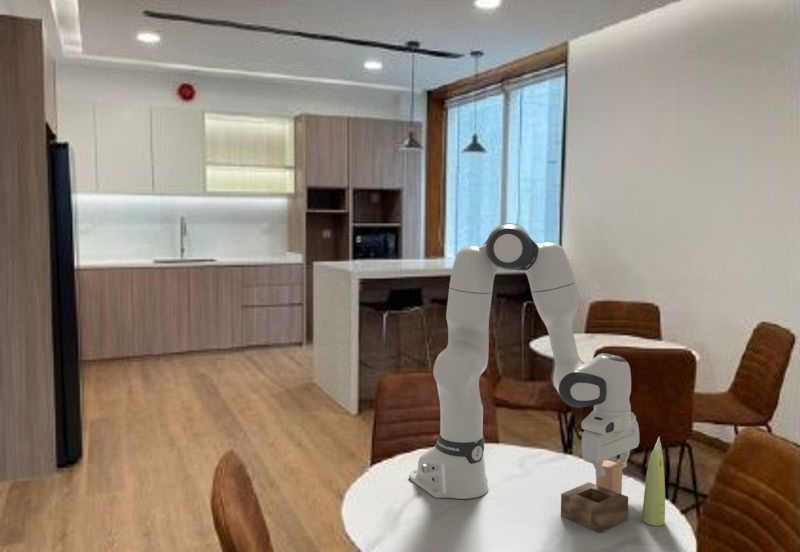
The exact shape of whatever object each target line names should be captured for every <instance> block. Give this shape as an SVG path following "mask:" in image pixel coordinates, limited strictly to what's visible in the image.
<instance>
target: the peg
mask: <svg viewBox="0 0 800 552" xmlns="http://www.w3.org/2000/svg"><path fill="white" fill-rule="evenodd" d="M602 468H603V469H604V470H605V476H604V477H601V478H600V477H597V476H596V475H595V477H596V478H595V485H598V486H601V487H603V488H606V489H609V490H611V491H614V492H617V493H619V494H622V491H623V489H622V487H623V468H622V465H621V464H618V463H617V462H616V461H612V460H609V459H607V460H604V461H603V465H602ZM622 495H623V494H622Z"/></svg>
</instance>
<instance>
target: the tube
mask: <svg viewBox="0 0 800 552" xmlns="http://www.w3.org/2000/svg"><path fill="white" fill-rule="evenodd" d="M662 448H663V447H662V443H661V439H660V437H658V438H657V441H656V443H655V445H654V448H653V450H652V452H651V454H650V458H649V462H648V467H647V471H646V475H645V482H644V483H645V485H644V493H643V504H642V519H641V520H642V521H643V522H644V523H646V524H648V525H651V526H654V527H658V526H659V527H660V526H663V525H664V524H665V523H666V522H665V520H666V486H665V483H666V481H665V480H666V479H665V467H664V465H665V464H664V455H663V450H662Z"/></svg>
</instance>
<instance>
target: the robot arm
mask: <svg viewBox="0 0 800 552" xmlns="http://www.w3.org/2000/svg"><path fill="white" fill-rule="evenodd" d="M500 269H504V270H507V271H514V270H515V271H524V273H525V274H526V276H527V279H528V280H527V281H528V283H529V288H530V293H531V296H532V300H533V302H534V305H535V308H536V310H537V313H538V316H540V318H541V320H542V322H543V323H544V325H545V327H546V329H547V333H548V336H549V341H550V346H551V350H552V355H553V364H552V370H551V377H550V378H551V382H552V385H553V388H554V389H555V390H556V391H557V393H558V394H559V396H560V397H559V398H561V400H562V402H564V403H565V404H566V405H568V406H570V407H573V408H586V407H592V406H593V410H592V411H591V412H590V413H589V414H588V415H587V416H586V417H585V418H584V419H582V421H581V424H580V425H581V429H582V430H584V431H583V433H582V435H581V457H582V459H583V461H584V462H587V463H589V464H592V465H593V467H594V469H595V477H596V476H597V477H600V478H601V477H604V476H605V470H604V469H603V468H602V465H603V461H605V460H609V459H611V458H614V457H616V456H619V459H617V461H616V463H618V464H621V465H622V469H624V468H626V467H627V466H628V465H627V464H628V459H629V456H630V454H631V453H630V452H631V450H634V449H637V448H638V447H639V444H640V428H639V423H638V421H637V416H636V415H635V414H634V412H632V408H631V401H630V396H631V392H632V374H631V366H630V364H629V362H628V361H627V360H626V359H625V358H623V357H622V356H620V355H615V354H612V353H605V352H604V353H603V352H602V353H599V354H597V355H596V356H595V357H594V358H592V359H590V360H588V361H585V362H583V361H582V360H581V358H580V356H579V352H578V347H577V343H576V339H575V335H574V330H573V329H574V328H573V321H574V318H575V316H576V314H577V312H578V310H579V295H578V288H577V284H576V283H577V282H576V280H575V276H574V272H573V269H572V266H571V263H570V260H569V258H568V256H567V254H566V252H565V250H564V248H563V246H562V245H560V244H558V243H555V242H552V241H551V242H548V241H546V242H542V243H538V242H537V243H536V242H535V241H534V240H533V239H532V238H531V236H530V234H529V233H528V232H527V230H526V228H524V227H523V226H521V225H520V224H516V223H512V222H507V223H502V224H499V225H498V226H496V227H495V228H493V230H491V232H490V234H489V235H488V238H487V239H486V240H485V241H484V243H483V244H482V245H480V246H475V245H471V246H467V247H464V248H461V249H459V251H458V252H457V254H456V256H455V259H454V262H453V265H452V269H451V273H450V280H449V288H448V294H447V295H448V297H447V303H446V313H445V314H446V315H445V319H446V322H447V333H448V334H447V335H448V336H447V337H448V339H447V346H446V348H445V349H444V350H442V351H440V353H439V354H438V355H437V357H436V359H435V362H434V365H433V377H434V380H435V382H436V387H437V394H438V397H439V398H438V399H439V407H440V409H439V410H440V420H439V421H440V425H439V426H440V432H439V433H436V434H435V435H434V434H433V435H432V436H433V437H434V438H433V439H432V440H436V442H435V445H434V446H433V447H431V448H430V449H428V450H427V451H425V453H422V454H421V456H420V457H419V459H418V461H417V469H415V470H413V471H411V472H410V473H409V474H408V479H409V478H410V479H411V480H410V479H409V480H410V481H411V482H413V483H415V484H416V485H417V486H418V487H420V488H421V489H422V490H424V491H426V493H428V494H429V495H431V496H432V497H433V498H437V499H438V498H439V499H442V498H443V499H445V498H449V499H460V500H462V499H463V500H465V499H467V500H469V499H474V498H479V497H481V496H483V495H486V493H487V492H488V491H489V486H488V476H487V475H486V466H485V454H484V452H485V436H484V434H483V430H484V429H483V426H484V425H483V424H484V423H483V421H484V407H483V406H484V405H483V403H482V399H481V393H480V378H481V375H482V374H483V373H484V372H485V371H486V369H487V367H488V364H489V352H490V351H489V347H490V346H489V345H490V344H489V342H490V336H489V335H490V327H489V325H490V324H489V323H490V314H491V307H492V305H491V304H492V299H493V298H492V295H493V289H494V281H495V276H496V274H497V272H498V270H500Z"/></svg>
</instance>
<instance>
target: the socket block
mask: <svg viewBox="0 0 800 552" xmlns="http://www.w3.org/2000/svg"><path fill="white" fill-rule="evenodd" d="M560 494H561V495H560V499H561V500H560V517H562V518H565V519H567V520H570V521H571V522H573V523H576V524H579V525H581V526H584V527H586V528H588V529H590V530H592V531H594V532H597V533H599V534H602V533H604V532H606V531H608V530H610V529H611V528H613V527H615V526H617V525H619V524H621V523H623V522H626V521H627V520H628V519H629V518H628V517H629V496H627V495H625V494H619V493H617V492H614V491H611V490H609V489H606V488H603V487H601V486H598V485H596V483H592V482H586V483H584V484H581V485H579V486H576V487H573V488H572V489H569V490H567V491H564V492H562V493H560Z"/></svg>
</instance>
